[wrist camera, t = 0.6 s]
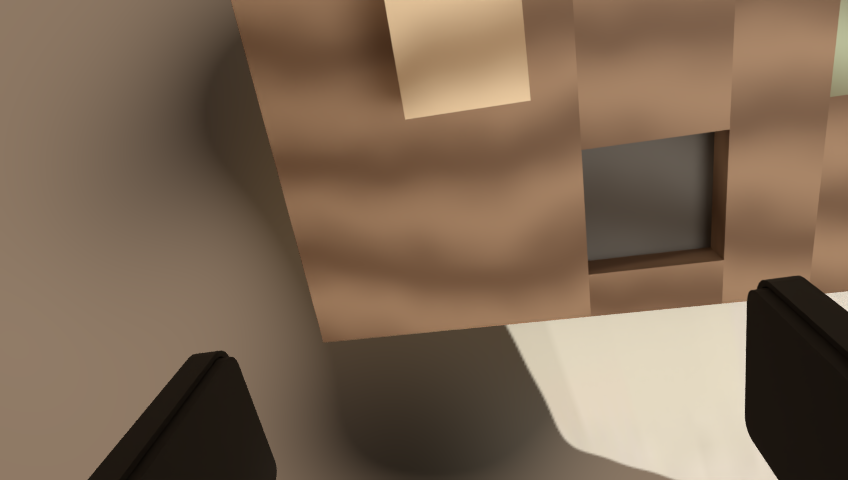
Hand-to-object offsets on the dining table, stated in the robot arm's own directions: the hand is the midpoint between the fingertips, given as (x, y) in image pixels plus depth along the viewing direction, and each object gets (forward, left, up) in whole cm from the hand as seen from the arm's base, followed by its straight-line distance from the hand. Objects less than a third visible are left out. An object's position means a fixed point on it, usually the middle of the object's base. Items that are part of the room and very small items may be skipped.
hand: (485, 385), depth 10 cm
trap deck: (+1, +14, -26) cm, 29 cm away
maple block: (-5, 0, -23) cm, 24 cm away
